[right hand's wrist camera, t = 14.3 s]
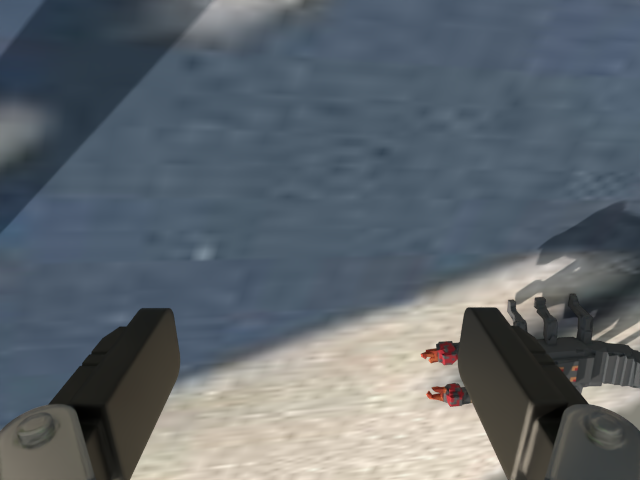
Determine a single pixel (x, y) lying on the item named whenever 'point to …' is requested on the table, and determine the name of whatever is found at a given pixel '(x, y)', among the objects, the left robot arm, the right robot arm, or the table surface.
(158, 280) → the table surface
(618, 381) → the toy
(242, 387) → the table surface
